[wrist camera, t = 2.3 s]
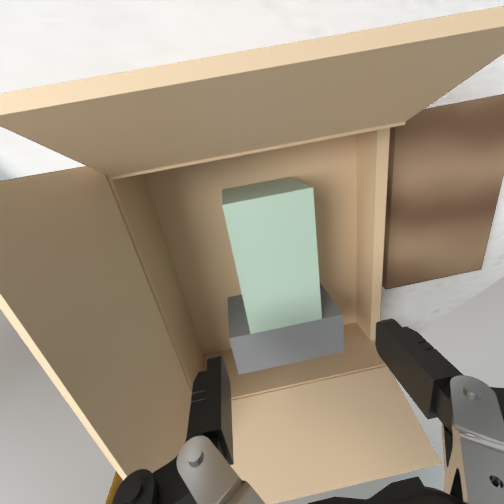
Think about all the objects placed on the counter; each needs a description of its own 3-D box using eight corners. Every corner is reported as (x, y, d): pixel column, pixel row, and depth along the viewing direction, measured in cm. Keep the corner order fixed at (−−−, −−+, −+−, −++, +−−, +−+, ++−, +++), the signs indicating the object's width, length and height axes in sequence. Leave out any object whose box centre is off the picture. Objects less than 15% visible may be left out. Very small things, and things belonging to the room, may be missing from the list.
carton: (91, 134, 17) (-146, 116, 6) (361, 85, 17) (591, -12, 6) (184, 372, 26) (158, 535, 15) (358, 334, 26) (453, 465, 16)
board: (383, 116, 18) (396, 114, 17) (501, 94, 18) (523, 90, 17) (376, 281, 24) (386, 289, 22) (466, 262, 24) (481, 269, 23)
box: (201, 193, 18) (194, 210, 13) (310, 172, 18) (339, 182, 14) (235, 328, 23) (238, 374, 18) (319, 311, 23) (343, 351, 19)
